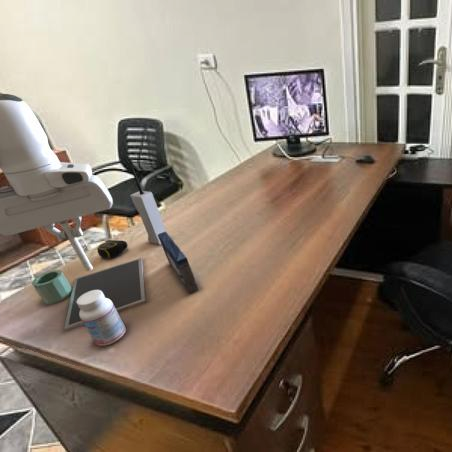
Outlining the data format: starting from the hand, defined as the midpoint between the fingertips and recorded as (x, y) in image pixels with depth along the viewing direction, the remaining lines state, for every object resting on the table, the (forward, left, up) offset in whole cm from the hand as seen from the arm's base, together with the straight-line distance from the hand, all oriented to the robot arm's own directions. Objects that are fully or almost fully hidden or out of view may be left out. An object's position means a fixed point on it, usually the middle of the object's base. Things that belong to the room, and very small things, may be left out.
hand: (72, 237), depth 76 cm
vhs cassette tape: (+18, +2, -20) cm, 27 cm away
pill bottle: (+1, -12, -20) cm, 23 cm away
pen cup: (-12, +13, -20) cm, 27 cm away
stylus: (0, 0, -9) cm, 9 cm away
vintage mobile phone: (+14, +27, -20) cm, 36 cm away
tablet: (0, +7, -20) cm, 21 cm away
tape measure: (+1, +28, -20) cm, 34 cm away
